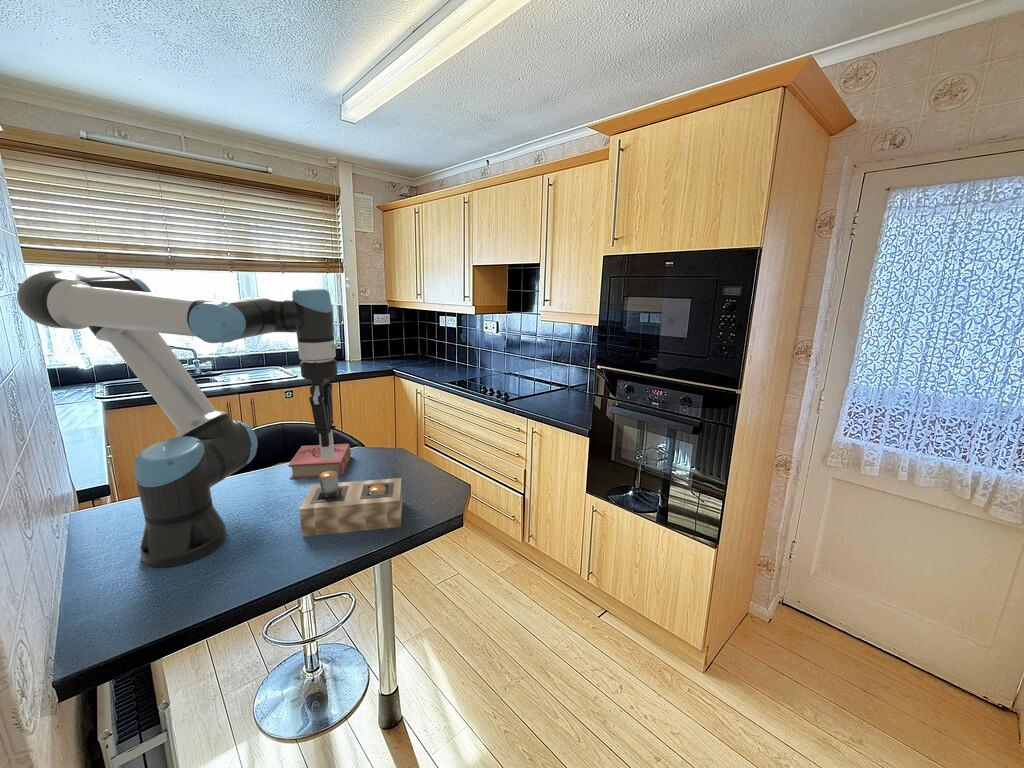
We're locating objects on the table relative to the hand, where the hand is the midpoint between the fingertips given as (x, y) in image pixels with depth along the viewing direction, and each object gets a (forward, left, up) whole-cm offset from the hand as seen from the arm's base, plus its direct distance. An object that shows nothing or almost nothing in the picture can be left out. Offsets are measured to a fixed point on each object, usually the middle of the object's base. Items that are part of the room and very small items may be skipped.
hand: (328, 457), depth 102 cm
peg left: (0, 0, -11) cm, 11 cm away
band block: (+5, 0, -17) cm, 17 cm away
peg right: (+11, 0, -16) cm, 19 cm away
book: (-9, +32, -17) cm, 37 cm away
